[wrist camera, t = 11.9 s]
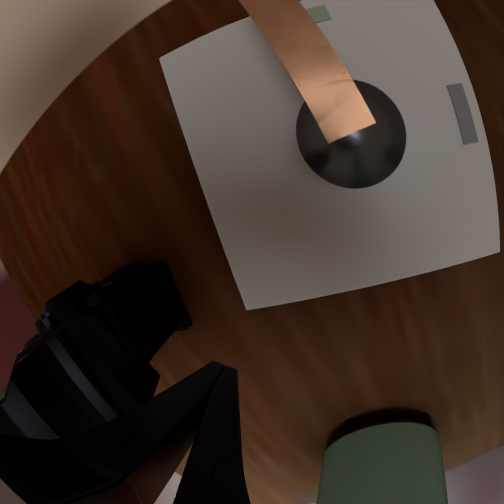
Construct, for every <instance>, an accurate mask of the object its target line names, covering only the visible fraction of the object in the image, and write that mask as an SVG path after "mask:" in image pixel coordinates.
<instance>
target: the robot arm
mask: <svg viewBox="0 0 504 504" xmlns="http://www.w3.org/2000/svg"><path fill="white" fill-rule="evenodd" d="M159 265H160V266H161V267H162V269H161V268H160V267H159ZM39 318H40V319H39V320H38V321H37V322H36V323H35V324H34V325H33V326H34V328H35V329H36V331H37V334H36V335H35V336H33V337H32V338H30V339H29V340H28V341H26V342H25V344H24V345H23V347H22V349H21V350H20V352H19V354H18V356H17V357H16V360H15V363H14V366H13V369H12V372H11V376H10V379H9V382H8V385H6V386H5V387H4V388H3V389H1V390H0V504H154V503H155V501H156V500H157V498H158V496H159V495H160V493H161V492H162V490H163V489H164V487H165V486H166V484H167V483H168V481H169V480H170V478H171V477H172V475H173V473H174V472H175V470H176V469H177V467H178V466H179V464H180V462H181V461H182V459H183V458H184V456H185V454H186V453H187V451H188V450H189V448H190V446H191V445H192V443H193V445H192V448H191V451H190V454H189V457H188V460H187V463H186V466H185V469H184V472H183V475H182V478H181V481H180V484H179V487H178V490H177V493H176V497H175V499H174V502H173V504H250V500H249V496H248V492H247V487H246V482H245V477H244V470H243V459H242V452H241V451H242V445H241V428H240V410H239V391H238V371H237V369H236V368H234V367H231V366H228V365H226V366H225V365H224V364H222V363H219V362H216V361H212V362H210V363H208V364H207V365H205V366H204V367H202V368H201V369H199V370H197V371H196V372H194V373H193V374H191V375H189V376H188V377H186V378H185V379H183V380H181V381H180V382H178V383H176V384H175V385H173V386H172V387H170V388H168V389H167V390H165V391H163V392H162V393H160V394H158V395H156V396H155V397H153V396H154V393H155V390H156V387H157V384H158V381H159V378H160V375H159V373H158V372H157V371H156V370H154V368H153V367H152V366H151V364H150V363H149V361H150V360H151V359H152V358H153V356H154V355H155V354H156V353H157V352H158V350H159V349H160V348H161V347H162V345H163V344H164V343H165V342H166V341H167V339H168V338H169V337H170V336H171V334H172V333H173V332H174V331H181V330H188V329H189V328H190V327H191V326H192V322H191V320H190V318H189V316H188V313H187V311H186V309H185V307H184V305H183V302H182V300H181V298H180V296H179V293H178V291H177V289H176V286H175V284H174V282H173V279H172V277H171V275H170V272H169V270H168V267H167V265H166V263H165V262H164V261H156V262H153V263H149V264H146V265H143V264H142V263H140V262H138V263H135V264H131V265H128V266H124V267H121V268H119V269H118V270H116V271H115V272H113V273H112V274H110V275H109V276H107V277H106V278H104V279H103V280H101V281H100V282H98V281H96V282H95V283H93V284H90V283H87V284H86V283H84V282H83V281H81V280H79V281H77V282H76V283H74V284H73V285H71V286H70V287H68V288H67V289H65V290H64V291H62V292H60V293H59V294H57V295H56V296H54V297H53V298H51V299H50V300H49V301H47V302H46V303H45V304H44V310H43V314H42V315H41V316H40V317H39ZM185 323H186V324H187V325H186V324H185Z"/></svg>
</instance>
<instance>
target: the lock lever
mask: <svg viewBox="0 0 504 504" xmlns="http://www.w3.org/2000/svg"><path fill="white" fill-rule="evenodd" d="M238 1H239V2H240V3H241V5H242V6H243V7H244V9H245V10H246V12H247V13H248V14H249V16H250V17H251V19H252V20H253V21H254V23H255V24H256V26H257V27H258V28H259V30H260V31H261V33H262V34H263V36H264V37H265V39H266V40H267V41H268V43H269V44H270V46H271V47H272V49H273V50H274V52H275V54H276V55H277V57H278V58H279V60H280V61H281V63H282V64H283V66H284V68H285V69H286V71H287V72H288V74H289V76H290V77H291V79H292V81H293V82H294V84H295V86H296V87H297V89H298V91H299V92H300V94H301V96H302V98H303V99H304V103H303V105H302V107H301V109H300V111H299V114H298V117H297V122H296V138H297V143H298V147H299V150H300V152H301V154H302V156H303V158H304V160H305V161H306V163H307V164H308V166H309V167H310V168H311V169H312V170H313V171H314V172H315V173H316V174H317V175H318V176H320V177H321V178H322V179H324V180H326V181H327V182H329V183H331V184H334V185H336V186H340V187H344V188H351V189H359V188H366V187H371V186H373V185H376V184H378V183H380V182H382V181H384V180H385V179H386V178H388V177H389V176H390V175H391V174H392V173H393V172H394V171H395V170H396V168H397V167H398V165H399V164H400V162H401V160H402V158H403V155H404V152H405V148H406V128H405V124H404V120H403V118H402V115H401V113H400V111H399V109H398V108H397V106H396V105H395V103H394V102H393V101H392V100H391V99H390V98H389V96H388V95H386V94H385V93H384V92H383V91H381V90H380V89H378V88H377V87H375V86H373V85H371V84H369V83H366V82H363V81H358V80H352V78H351V76H350V74H349V73H348V71H347V69H346V68H345V66H344V65H343V63H342V61H341V60H340V58H339V57H338V55H337V54H336V52H335V50H334V49H333V47H332V46H331V44H330V43H329V41H328V40H327V39H326V37H325V36H324V34H323V33H322V31H321V30H320V28H319V27H318V26H317V24H316V23H315V22H314V20H313V19H312V18H311V16H310V15H309V14H308V12H307V11H306V10H305V8H304V7H303V6H302V4H301V3H300V2H299V1H298V0H238Z"/></svg>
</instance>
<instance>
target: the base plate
mask: <svg viewBox="0 0 504 504" xmlns="http://www.w3.org/2000/svg"><path fill="white" fill-rule="evenodd" d="M299 2H300V3H301V4H302V6H303V7H304V8H305V10H306V11H307V12H308V14H309V15H310V16H311V18H312V19H313V20H314V22H315V23H316V24H317V26H318V27H319V28H320V30H321V31H322V33H323V34H324V36H325V37H326V39H327V40H328V41H329V43H330V44H331V46H332V47H333V49H334V50H335V52H336V54H337V55H338V57H339V58H340V60H341V61H342V63H343V65H344V66H345V68H346V69H347V71H348V73H349V74H350V76H351V78H352V80H358V81H363V82H366V83H369V84H371V85H373V86H375V87H377V88H378V89H380V90H381V91H383V92H384V93H385V94H386V95H388V96H389V98H390V99H391V100H392V101H393V102H394V103H395V105H396V106H397V108H398V109H399V111H400V113H401V115H402V118H403V120H404V124H405V128H406V148H405V152H404V155H403V158H402V160H401V162H400V164H399V165H398V167H397V168H396V170H395V171H394V172H393V173H392V174H391V175H390V176H389V177H388V178H386V179H385V180H384V181H382V182H380V183H378V184H376V185H373V186H371V187H366V188H359V189H351V188H344V187H340V186H336V185H334V184H331V183H329V182H327V181H326V180H324V179H322V178H321V177H320V176H318V175H317V174H316V173H315V172H314V171H313V170H312V169H311V168H310V167H309V166H308V164H307V163H306V161H305V160H304V158H303V156H302V154H301V152H300V150H299V147H298V143H297V138H296V122H297V117H298V114H299V111H300V109H301V107H302V105H303V103H304V99H303V98H302V96H301V94H300V92H299V91H298V89H297V87H296V86H295V84H294V82H293V81H292V79H291V77H290V76H289V74H288V72H287V71H286V69H285V68H284V66H283V64H282V63H281V61H280V60H279V58H278V57H277V55H276V54H275V52H274V50H273V49H272V47H271V46H270V44H269V43H268V41H267V40H266V39H265V37H264V36H263V34H262V33H261V31H260V30H259V28H258V27H257V26H256V24H255V23H254V21H253V20H252V19H251V17H247V18H245V19H242V20H239V21H237V22H234V23H232V24H229V25H227V26H224V27H222V28H220V29H217V30H215V31H213V32H211V33H208V34H206V35H204V36H202V37H200V38H198V39H196V40H193V41H191V42H189V43H187V44H185V45H183V46H181V47H180V48H178V49H176V50H174V51H172V52H170V53H168V54H166V55H165V56H163V57H161V58H159V60H160V63H161V66H162V69H163V72H164V76H165V79H166V82H167V85H168V88H169V91H170V94H171V97H172V101H173V104H174V107H175V110H176V113H177V116H178V119H179V122H180V125H181V128H182V131H183V134H184V137H185V140H186V143H187V146H188V149H189V152H190V155H191V158H192V161H193V164H194V166H195V169H196V172H197V175H198V178H199V181H200V184H201V187H202V190H203V192H204V195H205V198H206V201H207V204H208V207H209V209H210V212H211V215H212V218H213V221H214V224H215V226H216V229H217V232H218V235H219V237H220V240H221V243H222V246H223V248H224V251H225V254H226V257H227V259H228V262H229V265H230V268H231V270H232V273H233V276H234V278H235V281H236V284H237V286H238V289H239V292H240V294H241V297H242V300H243V302H244V305H245V308H246V310H252V309H258V308H264V307H269V306H275V305H281V304H286V303H292V302H297V301H302V300H307V299H312V298H318V297H323V296H327V295H332V294H337V293H342V292H347V291H351V290H356V289H360V288H365V287H369V286H374V285H378V284H382V283H387V282H391V281H395V280H399V279H403V278H407V277H411V276H415V275H419V274H423V273H427V272H431V271H435V270H438V269H442V268H446V267H450V266H453V265H457V264H460V263H464V262H467V261H471V260H474V259H478V258H481V257H484V256H488V255H491V254H494V253H498V252H500V238H499V219H498V207H497V197H496V189H495V182H494V175H493V169H492V163H491V157H490V152H489V147H488V143H487V138H486V134H485V130H484V126H483V122H482V118H481V114H480V111H479V107H478V104H477V101H476V97H475V94H474V91H473V88H472V85H471V82H470V79H469V77H468V74H467V71H466V69H465V66H464V63H463V61H462V58H461V56H460V54H459V51H458V49H457V46H456V44H455V42H454V40H453V38H452V35H451V33H450V31H449V29H448V27H447V25H446V23H445V21H444V19H443V17H442V15H441V13H440V11H439V10H438V8H437V6H436V4H435V2H434V1H433V0H301V1H299Z"/></svg>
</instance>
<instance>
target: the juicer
mask: <svg viewBox="0 0 504 504" xmlns="http://www.w3.org/2000/svg"><path fill="white" fill-rule="evenodd" d="M316 504H448V500H447V489H446V480H445V472H444V465H443V458H442V452H441V446H440V441H439V435H438V432H437V431H436V429H435V428H434V427H433V425H432V424H431V420H430V416H429V414H420V415H418V416H416V417H415V418H413V417H408V416H391V417H384V418H377V419H373V420H370V421H366V422H362V421H361V420H360V419H356V418H353V419H349V420H347V421H345V423H344V428H343V432H342V433H340V434H339V435H337V436H336V437H334V439H333V440H332V441H331V442H330V443H329V444H328V445H327V448H326V450H325V452H324V455H323V461H322V468H321V476H320V483H319V490H318V496H317V503H316Z"/></svg>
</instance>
